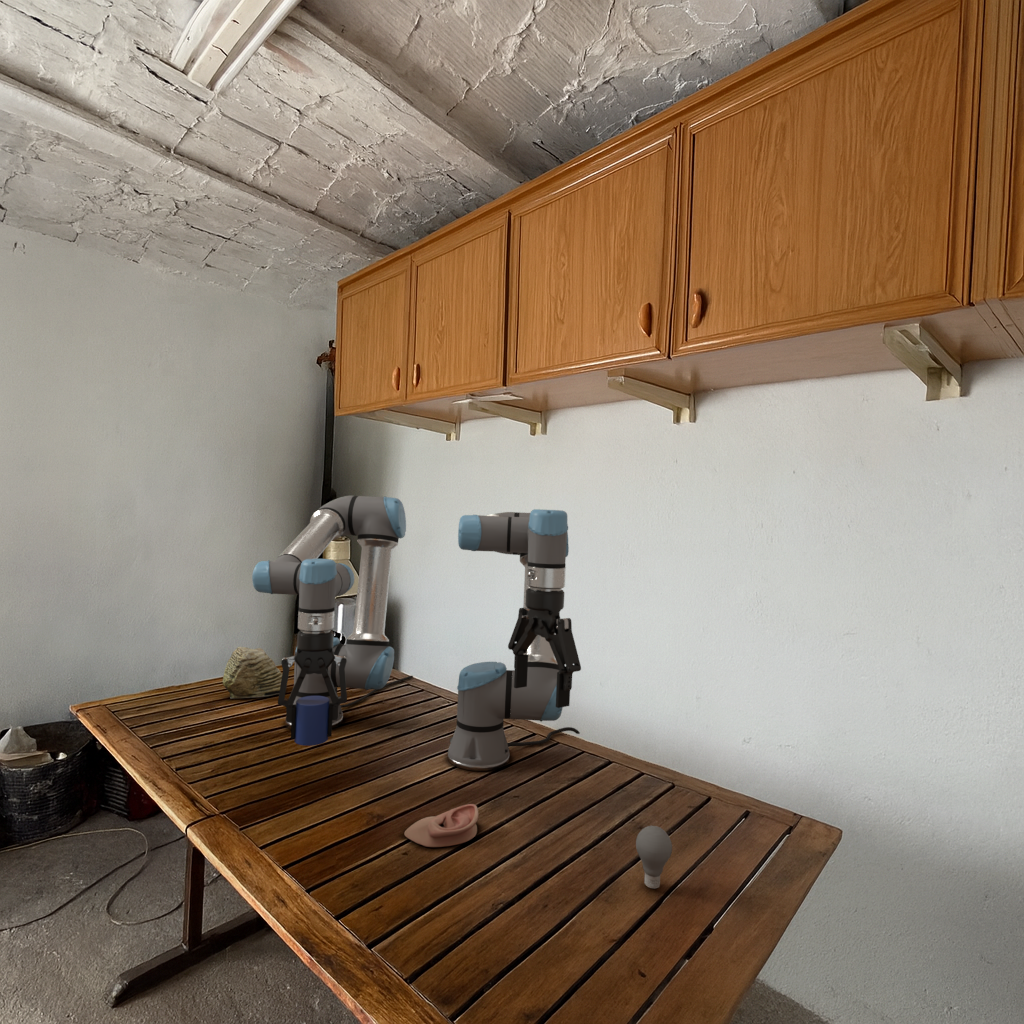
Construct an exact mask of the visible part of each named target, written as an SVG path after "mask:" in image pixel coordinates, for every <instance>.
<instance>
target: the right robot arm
mask: <svg viewBox="0 0 1024 1024" xmlns="http://www.w3.org/2000/svg"><path fill="white" fill-rule="evenodd" d="M568 530H569V524H568V513H567V512H566V511H565V510H559V509H540V508H539V509H538V508H537V509H535V508H534V509H532V510H531V511H530V512H516V511H503V512H497V513H490V514H487V515H481V514H479V515H478V514H464V515H461V517H460V518H459V522H458V530H457V533H458V534H457V539H458V540H457V544H458V547H459V548H460V549H461V550H463V551H471V552H494V553H499V554H503V555H504V554H505V555H513V556H519V562H520V564H522V566H523V567H524V581H523V582H524V583H523V585H524V586H523V607H520V608H519V609H518V613H517V614H518V615H517V620H516V623H515V625H514V628H513V631H512V634H511V637H510V639H509V641H508V645H507V648H508V650H511V651H512V654H513V656H514V661H513V669H514V670H512V669H511V670H510V669H508V668H507V665H506V664H505V663H504V662H501V661H499V662H498V661H482V662H476V663H472V664H469V665H467V666H464V667H463V668H462V669H461V670H460V672H459V674H458V681H457V682H458V683H457V687H456V690H457V707H456V727H455V730H454V733H453V736H451V737H450V738H449V743H450V744H449V746H448V749H447V760H448V762H449V763H450V764H451V765H452V766H454V767H456V768H459V769H462V770H466V771H473V772H486V771H487V772H488V771H494V770H497V769H501V768H503V767H505V766H506V765H508V763H509V762H510V749H509V748H510V747H528V746H537V745H542V744H543V745H544V744H546V743H548V742H549V741H550V739H551V737H552V736H554V735H558V734H560V733H563V732H573V733H575V734H576V735H580V734H581V732H580V731H579V730H578V729H577V728H575V727H571V726H570V727H569V726H566V727H561V728H558V729H555V730H553V731H550V732H548V733H547V735H546V737H545V738H543V739H540V740H534V741H532V740H531V741H521V742H520V741H519V742H518V741H517V742H516V741H515V742H508V740H507V738H506V733H505V730H504V721H505V720H519V721H520V720H522V721H538V722H541V723H542V722H555V721H557V720H558V719H559V718H560V717H561V715H562V712H563V708H565V707H570V701H571V700H570V698H571V690H572V689H573V673H575V672H580V671H581V670H582V666H581V662H580V657H579V653H578V649H577V646H576V642H575V638H574V633H573V628H572V627H573V626H572V619H571V618H570V617H565V618H561V611H562V610H563V609H564V607H565V591H564V590H563V589H564V588H565V587H566V570H567V569H566V568H567V567H566V561H567V560H566V559H567V557H568V556H569V551H570V547H569V532H568Z"/></svg>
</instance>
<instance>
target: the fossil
mask: <svg viewBox="0 0 1024 1024" xmlns="http://www.w3.org/2000/svg"><path fill="white" fill-rule="evenodd" d="M282 673H283V672H281V669H279V668H278V667H277V665H276V663H275V662H274V660H273V659H272V658H271V657H270V656H269V655H268V654H267V653H266V652H265V650H264V649H263V648H260V647H258V648H251V647H247V646H246V647H245V646H238V647H237V648H236V649H235V650H233V651H232V653H231V656H230V657H229V659H228V660H227V663H226V666H225V668H224V671H223V675H222V676H223V677H222V685H223V687H224V688H225V690H226V691H228V693H229V698H230V699H250V698H264V697H271V696H275V695H279V692H280V686H281V679H282Z"/></svg>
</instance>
